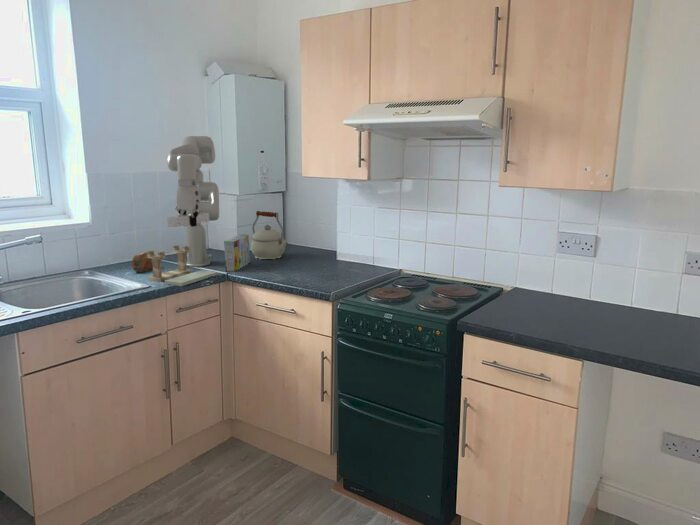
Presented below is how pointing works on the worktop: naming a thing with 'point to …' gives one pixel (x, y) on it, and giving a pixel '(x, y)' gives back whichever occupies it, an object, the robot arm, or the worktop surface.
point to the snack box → (237, 252)
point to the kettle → (267, 240)
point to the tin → (142, 262)
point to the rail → (187, 219)
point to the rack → (161, 276)
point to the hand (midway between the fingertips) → (189, 225)
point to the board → (190, 278)
